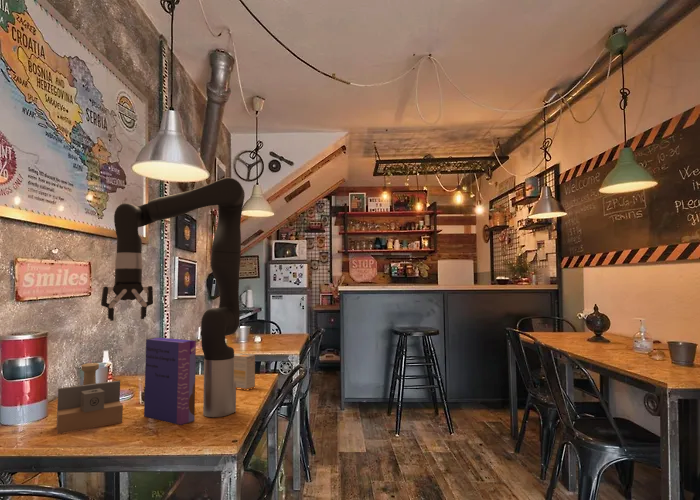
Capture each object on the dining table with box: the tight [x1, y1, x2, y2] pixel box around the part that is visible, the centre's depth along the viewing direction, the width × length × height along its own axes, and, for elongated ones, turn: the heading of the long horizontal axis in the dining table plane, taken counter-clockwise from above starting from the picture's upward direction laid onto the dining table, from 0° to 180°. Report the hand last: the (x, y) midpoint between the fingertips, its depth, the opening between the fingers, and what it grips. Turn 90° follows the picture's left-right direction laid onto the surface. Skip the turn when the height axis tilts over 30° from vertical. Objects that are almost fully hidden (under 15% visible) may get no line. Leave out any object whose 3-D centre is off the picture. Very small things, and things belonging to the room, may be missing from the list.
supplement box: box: [234, 353, 256, 391], centre depth 169 cm, size 8×5×13 cm, turn 58°
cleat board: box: [56, 380, 124, 435], centre depth 127 cm, size 16×7×11 cm, turn 126°
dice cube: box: [80, 388, 104, 412], centre depth 125 cm, size 5×5×5 cm
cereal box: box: [143, 337, 197, 426], centre depth 132 cm, size 17×5×24 cm, turn 59°
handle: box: [80, 362, 100, 385], centre depth 140 cm, size 5×6×15 cm
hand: (127, 319), depth 134 cm, fingers open, 8 cm apart
